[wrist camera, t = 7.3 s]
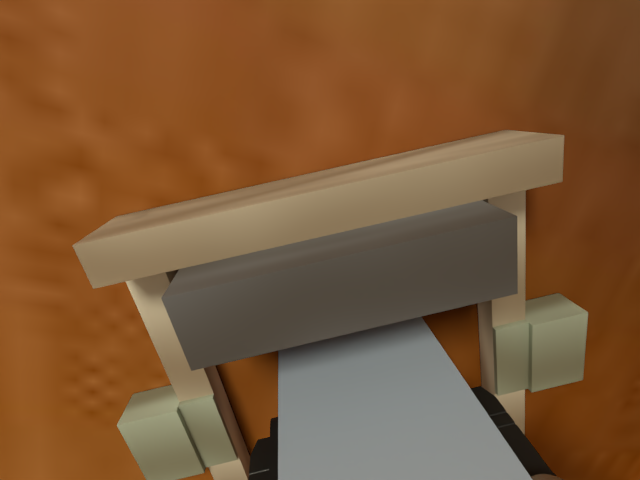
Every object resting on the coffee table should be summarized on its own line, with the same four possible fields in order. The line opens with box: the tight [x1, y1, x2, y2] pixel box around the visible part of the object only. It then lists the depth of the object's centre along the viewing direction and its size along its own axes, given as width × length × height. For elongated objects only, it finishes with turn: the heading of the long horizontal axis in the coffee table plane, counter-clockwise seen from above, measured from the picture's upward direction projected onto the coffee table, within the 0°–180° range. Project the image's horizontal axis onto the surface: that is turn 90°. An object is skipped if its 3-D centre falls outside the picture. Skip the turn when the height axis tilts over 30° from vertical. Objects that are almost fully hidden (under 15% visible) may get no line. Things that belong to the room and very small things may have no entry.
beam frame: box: [72, 130, 588, 480], centre depth 13 cm, size 22×16×4 cm
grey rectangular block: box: [278, 317, 532, 480], centre depth 10 cm, size 5×5×8 cm
